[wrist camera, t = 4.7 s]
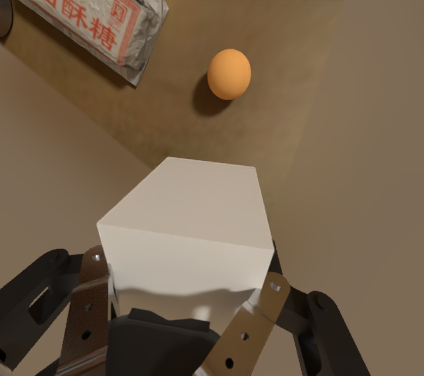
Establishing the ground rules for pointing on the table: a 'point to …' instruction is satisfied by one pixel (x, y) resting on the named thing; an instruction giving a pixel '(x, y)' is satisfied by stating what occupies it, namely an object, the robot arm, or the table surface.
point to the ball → (229, 74)
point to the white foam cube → (189, 241)
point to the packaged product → (109, 29)
